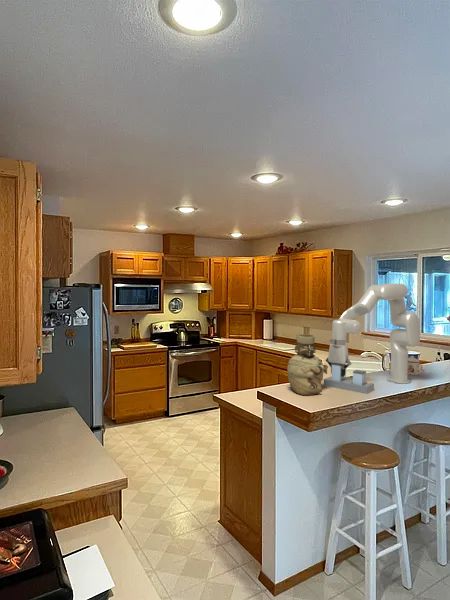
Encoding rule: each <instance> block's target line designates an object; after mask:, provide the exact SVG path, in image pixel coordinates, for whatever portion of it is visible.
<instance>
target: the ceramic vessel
mask: <svg viewBox="0 0 450 600" xmlns="http://www.w3.org/2000/svg"><path fill="white" fill-rule="evenodd" d="M295 338H296V343H297V344H296V345H294V352H295V353H296V354H294V355H293V356H292V357H291V358H290V359H289V360H288V363H287V371H286V372H287V378H288V382H289V386H290V388H291V389H292V391H293V392H294V393H296V394H297V395H300V396H316V395H317V396H319V395H321V394H322V392H323V388H322V382H323V381H324V374H325V375H328V368H329V365H328V364H323V362H322V360H321V359H320V358H319V357H318V356H316V354H315V353H316V346H315V345H314V344H315V340H316V335H314V334H304V333H303V334H296V336H295Z"/></svg>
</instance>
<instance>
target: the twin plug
mask: <svg viewBox="0 0 450 600" xmlns="http://www.w3.org/2000/svg"><path fill="white" fill-rule="evenodd" d="M352 378H353V384H357V385H365V384H366V382H367V370H360V369H356V370H353V371H352Z"/></svg>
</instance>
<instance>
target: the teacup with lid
mask: <svg viewBox="0 0 450 600" xmlns="http://www.w3.org/2000/svg"><path fill="white" fill-rule="evenodd" d="M420 367H421V369H420ZM423 370H424V366H423V364H421V363H420V359H417V358H416V357H414V355H410V356H409V357H408V373H407V375H408V374H411V375H410V376H418V375H417V374H420V373H421V372H422V371H423Z"/></svg>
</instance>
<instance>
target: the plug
mask: <svg viewBox="0 0 450 600" xmlns="http://www.w3.org/2000/svg"><path fill="white" fill-rule="evenodd" d="M341 369H342V364H337V363H332V375H331V376H332V379H331V380H336V381H343V380H344V377H345V376H343V377H341Z"/></svg>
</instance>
